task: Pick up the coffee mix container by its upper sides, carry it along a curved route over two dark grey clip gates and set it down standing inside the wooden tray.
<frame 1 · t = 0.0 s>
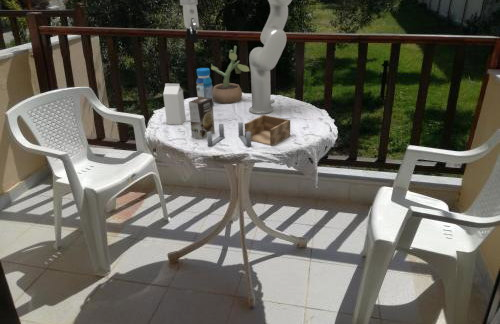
hand: (192, 41, 193), 37 cm above the table, tool pointing down, fingers open, 9 cm apart
milk carton: (176, 122, 205), on the table
clip gate 1: (216, 141, 180), on the table
clip gate 2: (244, 140, 180), on the table
coffee box: (203, 135, 188), on the table
beverage bottle: (206, 106, 228), on the table
potted plant: (230, 101, 236), on the table
wooden tray: (267, 137, 182), on the table
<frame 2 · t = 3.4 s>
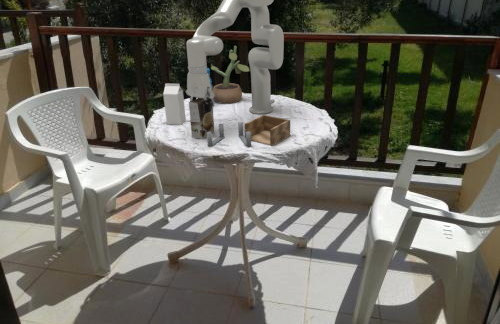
hand: (201, 110, 183), 11 cm above the table, tool pointing down, fingers closed on coffee box, 6 cm apart
coffee box: (203, 135, 188), on the table, touching gripper
everything else where it was.
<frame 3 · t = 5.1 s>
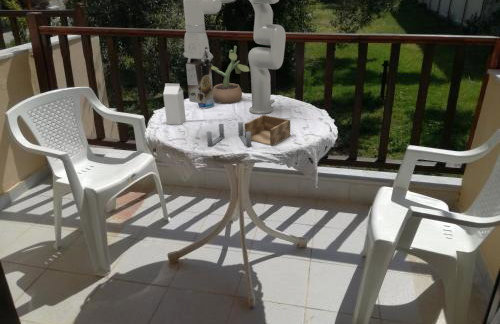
hand: (199, 73, 176), 28 cm above the table, tool pointing down, fingers closed on coffee box, 6 cm apart
coffee box: (201, 100, 181), point 16 cm above the table, touching gripper
everything else where it was.
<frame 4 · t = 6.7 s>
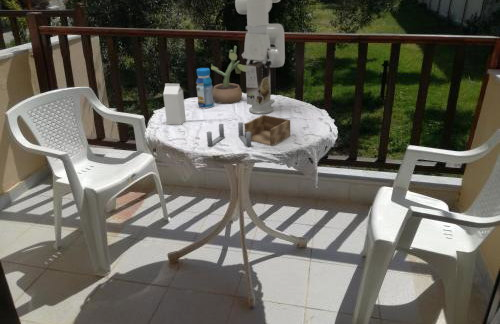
hand: (258, 75, 171), 27 cm above the table, tool pointing down, fingers closed on coffee box, 6 cm apart
coffee box: (259, 103, 175), point 16 cm above the table, touching gripper
everything else where it was.
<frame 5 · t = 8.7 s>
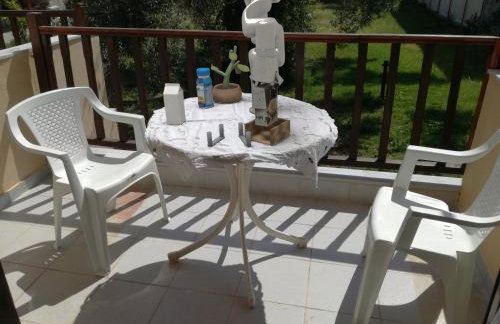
hand: (266, 96, 175), 18 cm above the table, tool pointing down, fingers closed on coffee box, 6 cm apart
coffee box: (266, 123, 179), point 7 cm above the table, touching gripper
everything else where it was.
when the fingers open (13 cm above the table, at t = 10.3 s): coffee box stays where it is, resting on wooden tray.
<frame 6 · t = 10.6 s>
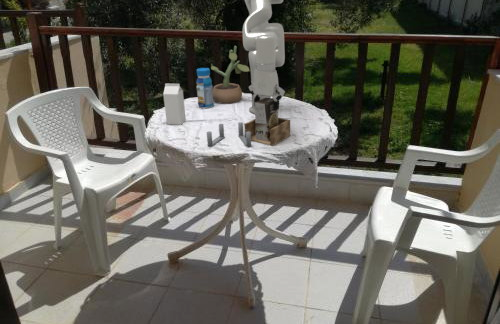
hand: (266, 108, 177), 13 cm above the table, tool pointing down, fingers open, 9 cm apart
coffee box: (267, 137, 182), resting on wooden tray
everything else where it was.
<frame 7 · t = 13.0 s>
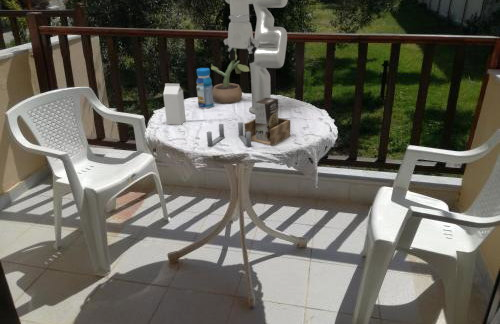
hand: (242, 61, 179), 31 cm above the table, tool pointing down, fingers open, 9 cm apart
nothing on the table moved.
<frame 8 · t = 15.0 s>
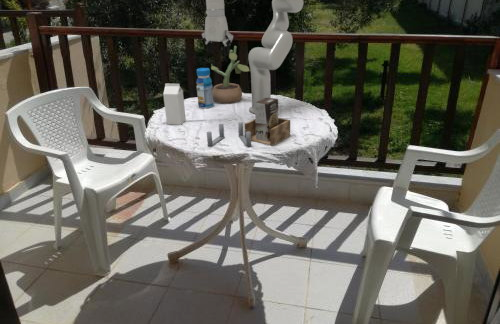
hand: (218, 54, 189), 32 cm above the table, tool pointing down, fingers open, 9 cm apart
nothing on the table moved.
at the end: coffee box inside the target area on the wooden tray (0.6 cm from its centre), point 0.2 cm above the wooden tray's base; coffee box tilted 0°; the gripper is holding nothing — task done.
